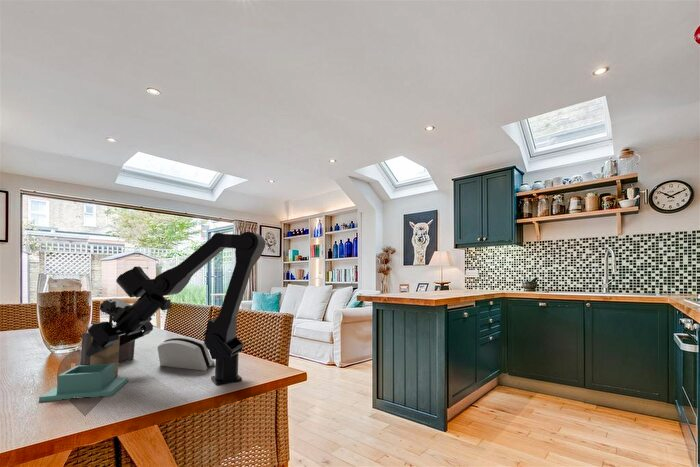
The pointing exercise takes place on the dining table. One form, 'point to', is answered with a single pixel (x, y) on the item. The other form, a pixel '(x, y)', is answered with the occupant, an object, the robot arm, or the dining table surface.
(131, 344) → the dark brown wooden block
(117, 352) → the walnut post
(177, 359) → the grey curved block
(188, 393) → the dining table surface
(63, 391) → the well
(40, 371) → the dining table surface
